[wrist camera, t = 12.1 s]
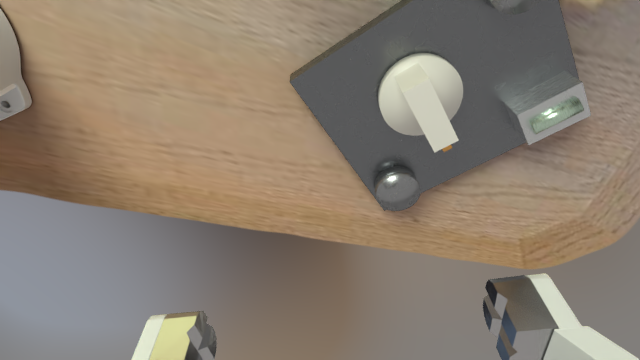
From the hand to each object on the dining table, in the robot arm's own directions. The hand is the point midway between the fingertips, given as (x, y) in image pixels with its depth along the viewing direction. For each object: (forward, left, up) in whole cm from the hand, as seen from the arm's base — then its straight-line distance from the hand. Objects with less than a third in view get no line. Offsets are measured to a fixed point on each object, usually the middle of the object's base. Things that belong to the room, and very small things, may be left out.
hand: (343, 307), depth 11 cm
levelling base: (+7, -12, -31) cm, 34 cm away
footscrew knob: (+5, -11, -29) cm, 31 cm away
